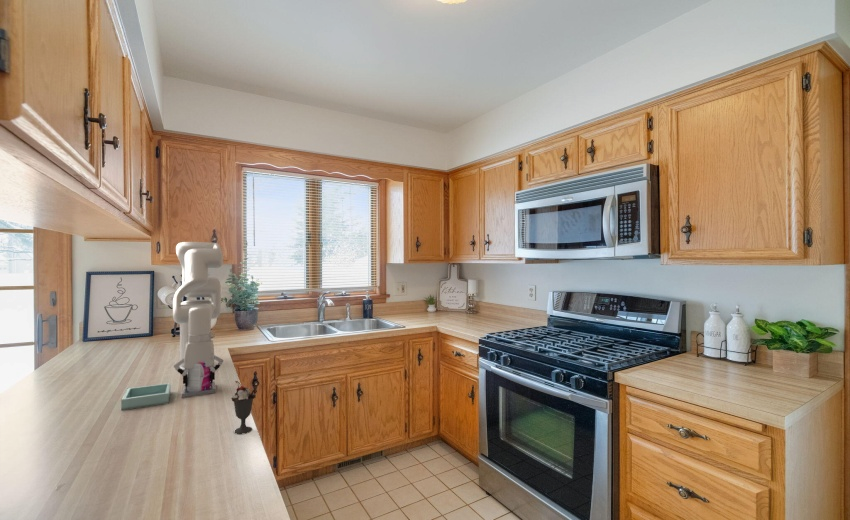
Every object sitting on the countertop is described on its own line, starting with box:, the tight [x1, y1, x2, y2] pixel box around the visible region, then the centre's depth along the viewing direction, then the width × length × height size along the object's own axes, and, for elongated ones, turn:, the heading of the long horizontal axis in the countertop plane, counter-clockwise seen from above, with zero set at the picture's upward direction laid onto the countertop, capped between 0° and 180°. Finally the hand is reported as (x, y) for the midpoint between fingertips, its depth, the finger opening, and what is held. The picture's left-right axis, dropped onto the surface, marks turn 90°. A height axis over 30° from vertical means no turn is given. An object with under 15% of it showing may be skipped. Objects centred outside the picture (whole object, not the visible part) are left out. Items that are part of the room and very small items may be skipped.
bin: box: [120, 382, 172, 411], centre depth 139 cm, size 13×13×4 cm
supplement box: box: [186, 363, 211, 392], centre depth 150 cm, size 6×6×12 cm
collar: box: [181, 380, 217, 399], centre depth 150 cm, size 11×11×2 cm
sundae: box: [230, 380, 256, 435], centre depth 116 cm, size 7×7×15 cm
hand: (199, 383), depth 150 cm, fingers closed on supplement box, 8 cm apart
